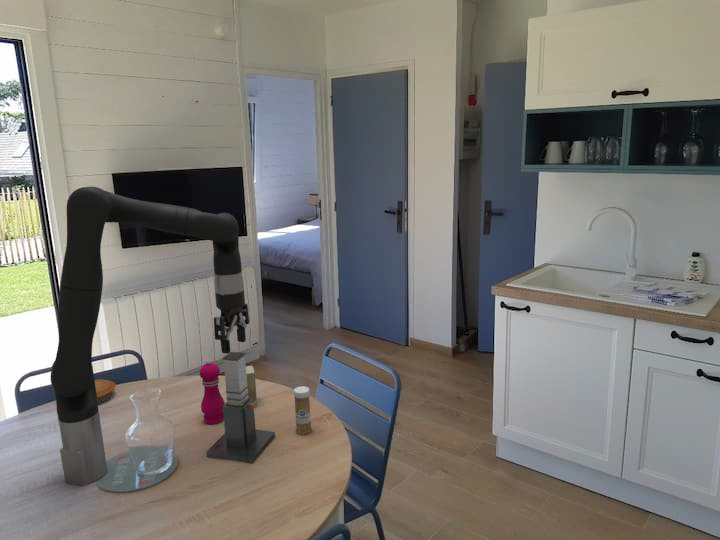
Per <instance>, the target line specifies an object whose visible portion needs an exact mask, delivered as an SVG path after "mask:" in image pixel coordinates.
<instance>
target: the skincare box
mask: <svg viewBox="0 0 720 540" xmlns="http://www.w3.org/2000/svg"><path fill="white" fill-rule="evenodd" d="M246 374H247V386H248V393H249V394H248V398H253V403H255V408H257V407H258V398H257V385H256V373H255V369H254V366H253V365H246Z"/></svg>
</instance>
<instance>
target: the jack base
mask: <svg viewBox="0 0 720 540" xmlns="http://www.w3.org/2000/svg"><path fill="white" fill-rule="evenodd" d="M248 399H249V401H248V402H247V403H246V404H245V405H244V406H243V407H242V408H241V407H233V406H227V401H226V402H225V404H224V405H223V415H224V420H223V423H224V434H222V435H221V436H220V437H219V438H218V439H217V440H216V442H214V443H213V444H212V445H211V446H210V447H209V448H208V449H207V450H206V452H205V453H206V457H208V458H214V459H215V458H216V459H221V460H228V461H235V462H242V463H247V464H254V463H255V462H256V461H257V459H258V458H259V457H260V455H261V454H262V453H263V452H264V451H265V449H266V448H267V447H268V446H269V445H270V443H271V442H272V441H273V439H275V437H276V432H275V431H269V430H261V429H256V428H257V427H256V417H255V416H256V415H255V408H256V407H255V403H253V398H248Z"/></svg>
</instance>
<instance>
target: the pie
mask: <svg viewBox="0 0 720 540" xmlns="http://www.w3.org/2000/svg"><path fill="white" fill-rule="evenodd" d="M94 380H95V387H96V393H97V402H98V405H100V404H102V403H104V402H106V401H108V400H109V399H110V398H111V397H112V393H113V392H114V390H115V388H116V386H117V385H116V383H115V382H113V381H112V380H108V379H100V378H99V379H94ZM99 403H100V404H99Z"/></svg>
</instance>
